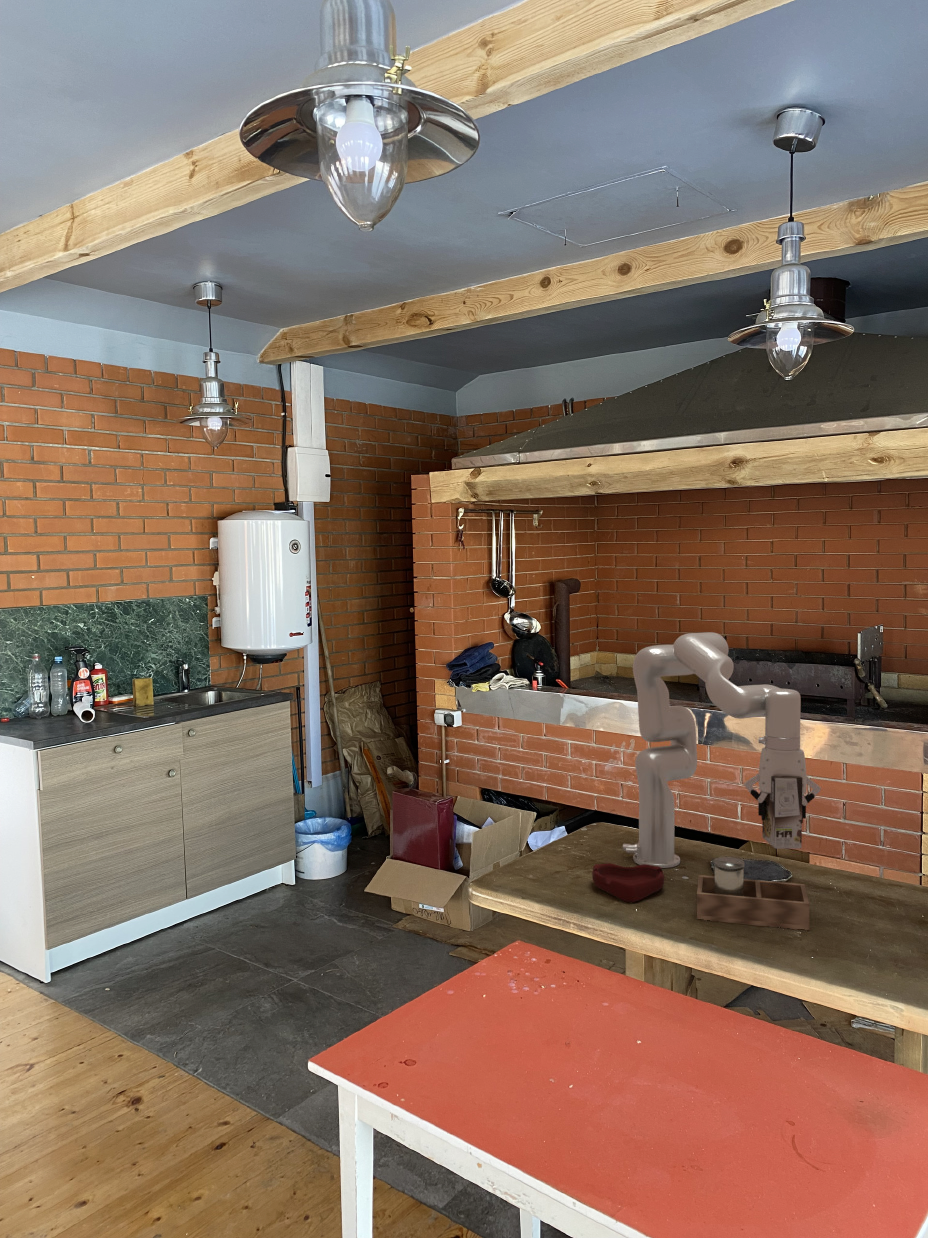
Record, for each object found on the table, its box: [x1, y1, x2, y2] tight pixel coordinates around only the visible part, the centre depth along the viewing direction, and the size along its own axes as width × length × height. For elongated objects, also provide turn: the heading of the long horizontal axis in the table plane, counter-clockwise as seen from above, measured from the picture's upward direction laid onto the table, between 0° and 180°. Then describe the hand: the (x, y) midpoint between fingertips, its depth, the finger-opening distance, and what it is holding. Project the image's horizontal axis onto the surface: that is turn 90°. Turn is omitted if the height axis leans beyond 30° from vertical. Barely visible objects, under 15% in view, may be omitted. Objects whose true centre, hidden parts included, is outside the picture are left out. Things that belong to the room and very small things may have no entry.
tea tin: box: [713, 856, 745, 896], centre depth 205 cm, size 7×7×11 cm
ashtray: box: [591, 862, 665, 903], centre depth 219 cm, size 18×16×5 cm
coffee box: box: [761, 776, 803, 850], centre depth 201 cm, size 9×6×16 cm
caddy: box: [696, 874, 810, 931], centre depth 204 cm, size 24×13×6 cm, turn 73°
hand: (781, 819), depth 201 cm, fingers closed on coffee box, 7 cm apart
